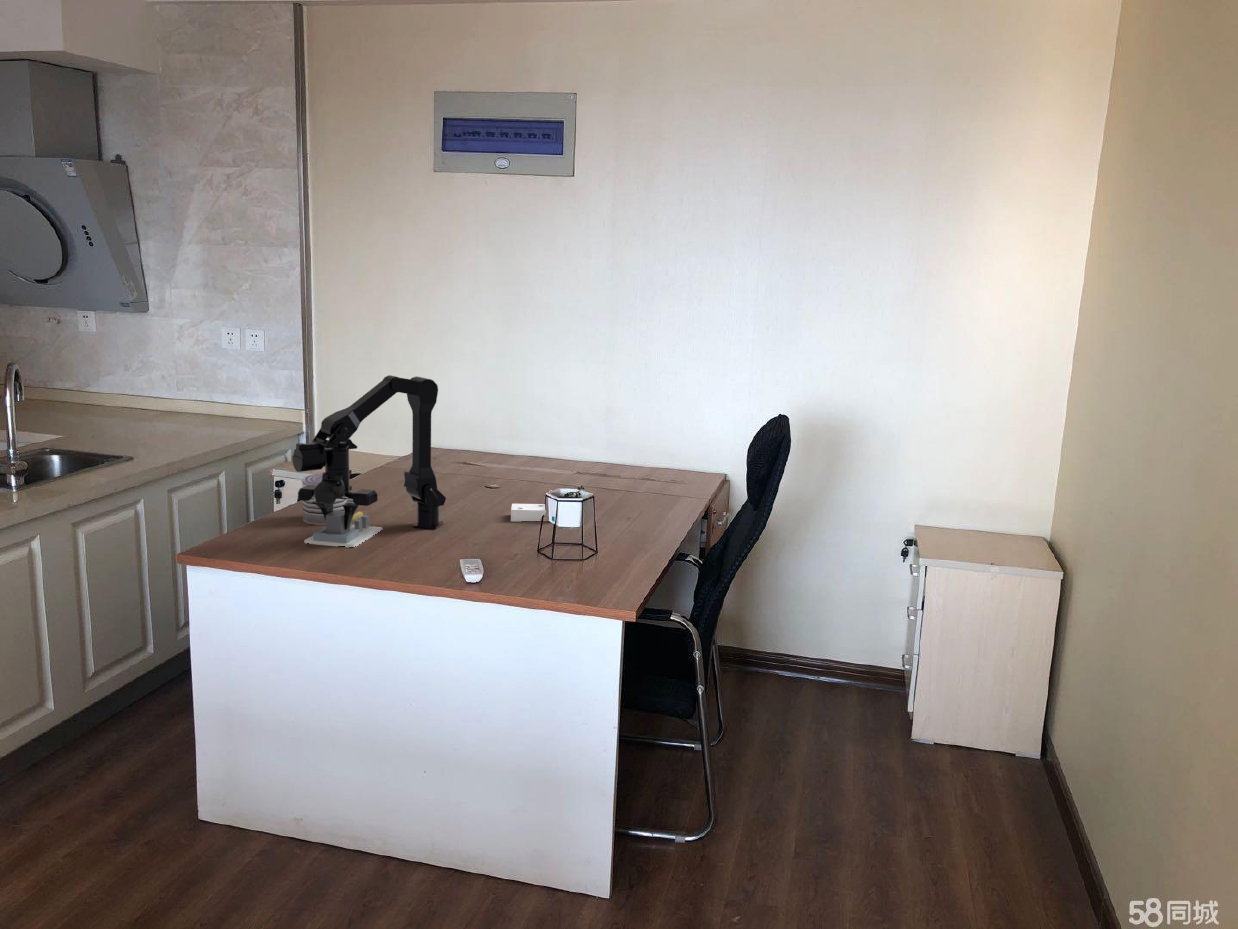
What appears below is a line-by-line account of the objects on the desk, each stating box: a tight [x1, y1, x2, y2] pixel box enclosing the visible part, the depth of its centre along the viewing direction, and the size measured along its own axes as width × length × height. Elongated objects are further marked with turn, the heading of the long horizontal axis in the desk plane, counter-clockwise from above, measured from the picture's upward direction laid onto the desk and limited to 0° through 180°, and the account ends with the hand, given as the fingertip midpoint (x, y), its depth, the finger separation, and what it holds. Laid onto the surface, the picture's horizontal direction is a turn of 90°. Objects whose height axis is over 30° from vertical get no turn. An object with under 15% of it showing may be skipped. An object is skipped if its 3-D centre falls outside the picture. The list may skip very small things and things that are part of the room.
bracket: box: [510, 490, 551, 522], centre depth 274 cm, size 13×7×8 cm, turn 94°
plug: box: [325, 510, 364, 535], centre depth 250 cm, size 16×4×5 cm, turn 170°
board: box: [304, 514, 383, 548], centre depth 249 cm, size 17×13×4 cm
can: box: [301, 471, 347, 526], centre depth 263 cm, size 11×11×12 cm
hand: (338, 528), depth 245 cm, fingers closed on plug, 4 cm apart
